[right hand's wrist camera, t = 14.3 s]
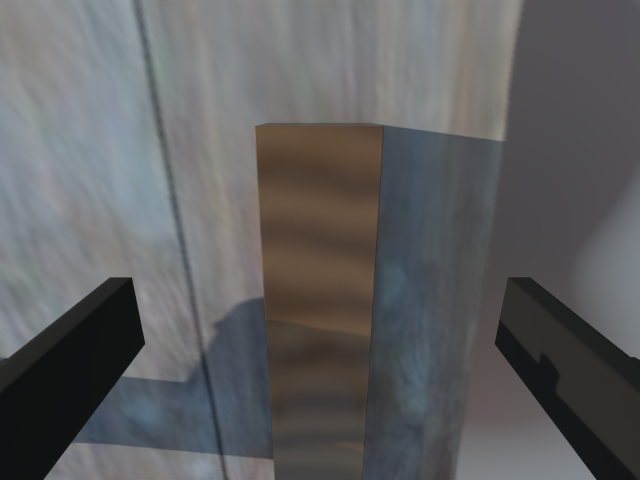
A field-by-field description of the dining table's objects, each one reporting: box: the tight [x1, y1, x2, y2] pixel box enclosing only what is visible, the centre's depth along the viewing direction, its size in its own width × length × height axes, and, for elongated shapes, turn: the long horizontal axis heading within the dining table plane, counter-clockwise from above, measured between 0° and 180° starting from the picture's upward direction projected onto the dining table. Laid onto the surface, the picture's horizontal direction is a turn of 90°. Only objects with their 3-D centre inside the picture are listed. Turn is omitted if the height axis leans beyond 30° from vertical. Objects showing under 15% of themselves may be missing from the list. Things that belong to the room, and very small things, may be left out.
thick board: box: [254, 123, 384, 480], centre depth 39 cm, size 53×10×7 cm, turn 0°
